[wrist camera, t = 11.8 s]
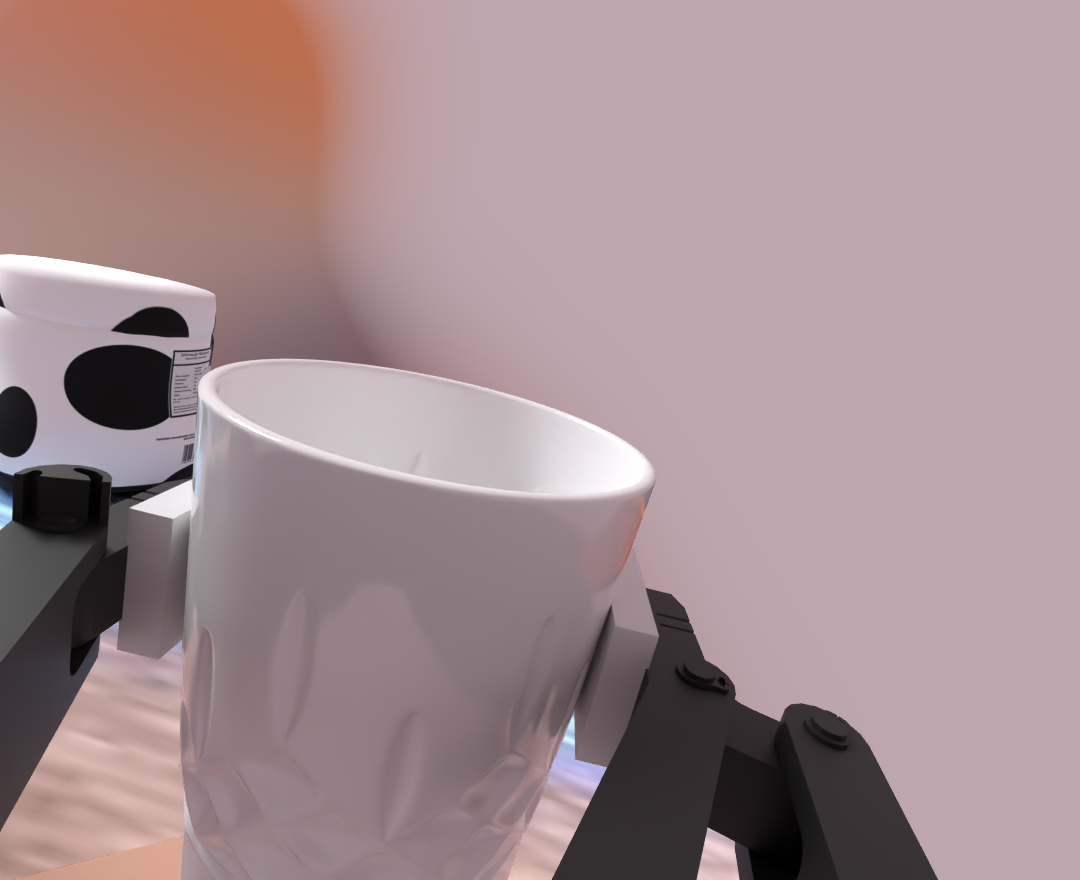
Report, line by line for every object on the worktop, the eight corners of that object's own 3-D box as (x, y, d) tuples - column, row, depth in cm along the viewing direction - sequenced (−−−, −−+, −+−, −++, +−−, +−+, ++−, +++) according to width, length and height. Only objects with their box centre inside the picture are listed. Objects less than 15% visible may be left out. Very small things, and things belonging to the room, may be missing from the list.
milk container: (-13, 438, 55) (-8, 244, 51) (197, 446, 66) (214, 286, 62) (-46, 513, 42) (-43, 260, 38) (222, 507, 53) (246, 309, 49)
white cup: (348, 678, 18) (409, 360, 16) (579, 819, 15) (695, 453, 13) (44, 879, 11) (77, 352, 9) (370, 1221, 8) (548, 557, 6)
